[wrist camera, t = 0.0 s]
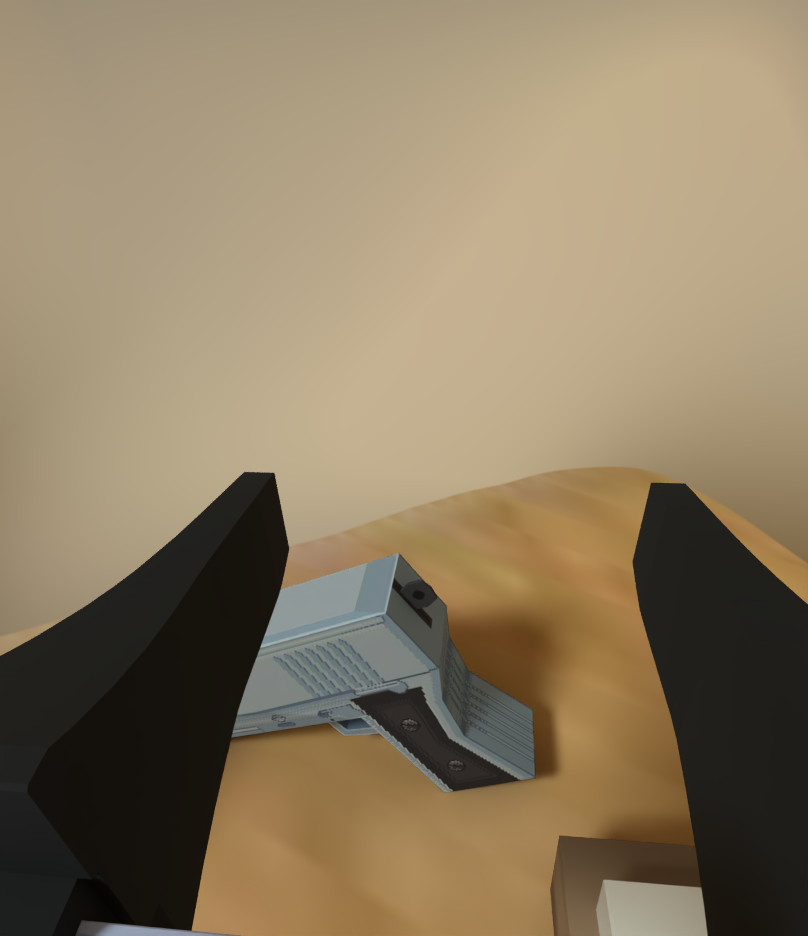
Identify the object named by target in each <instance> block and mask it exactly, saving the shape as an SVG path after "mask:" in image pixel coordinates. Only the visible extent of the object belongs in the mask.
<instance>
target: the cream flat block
mask: <svg viewBox="0 0 808 936" xmlns="http://www.w3.org/2000/svg"><path fill="white" fill-rule="evenodd" d="M596 912H597V920H598V927H599V934H600V936H708V935H707V927H706V918H705V910H704V903H703V896H702V889H701V888H699V887H687V886H675V885H663V884H651V883H639V882H627V881H615V880H603V884H602V888H601V892H600V896H599V900H598V904H597V908H596Z"/></svg>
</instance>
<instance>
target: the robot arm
mask: <svg viewBox="0 0 808 936" xmlns="http://www.w3.org/2000/svg"><path fill="white" fill-rule="evenodd" d="M288 552H289V545H288V540H287V536H286V530H285V526H284V520H283V515H282V510H281V504H280V499H279V495H278V489H277V484H276V479H275V474H274V473H259V472H257V473H255V472H244V473H243V474H242V475H241V476H240V477H239V478H237V479H236V480H235V482H233V483H232V484H231V485H230V486H229V487H228V488H227V489H226V490H225V491H224V492H223V493H222V494H221V495H220V496H219V497H218V498H216V500H214V501H213V502H212V503H211V504H210V505H209V506H208V507H207V508H206V509H205V510H204V511H203V512H202V513H201V514H200V515H199V516H198V517H197V518H195V519H194V520H193V521H192V522H191V523H190V524H189V525H188V526H187V527H186V528H185V529H184V530H182V531H181V532H180V533H179V534H178V535H177V536H176V537H175V538H174V539H172V540H171V541H170V542H169V543H168V544H166V545H165V546H164V547H163V548H162V549H160V550H159V551H158V552H157V553H156V554H155V555H153V556H152V557H151V558H150V559H149V560H148V561H146V562H145V563H144V564H143V565H141V566H140V567H139V568H138V569H137V570H135V571H134V572H133V573H131V574H130V575H129V576H127V577H126V578H125V579H123V580H122V581H121V582H120V583H118V584H117V585H115V586H114V587H113V588H111V589H110V590H108V591H107V592H105V593H104V594H103V595H101V596H100V597H98V598H97V599H95V600H94V601H93V602H91V603H90V604H88V605H87V606H85V607H84V608H83V609H80V610H79V611H77V612H75V613H74V614H72V615H71V616H69V617H67V618H66V619H64V620H62V621H61V622H59V623H57V624H56V625H54V626H53V627H51V628H49V629H48V630H46V631H44V632H43V633H41V634H40V635H38V636H36V637H34V638H33V639H31V640H29V641H27V642H25V643H24V644H22V645H20V646H18V647H16V648H14V649H13V650H11V651H9V652H7V653H5V654H3V655H1V656H0V936H239V935H229V934H218V933H208V932H198V931H192V925H193V919H194V914H195V908H196V903H197V897H198V892H199V886H200V881H201V875H202V869H203V864H204V859H205V854H206V850H207V845H208V840H209V835H210V830H211V825H212V820H213V815H214V810H215V806H216V801H217V797H218V793H219V788H220V784H221V779H222V775H223V771H224V766H225V762H226V758H227V754H228V750H229V746H230V742H231V738H232V734H233V730H234V726H235V722H236V717H237V714H238V710H239V707H240V704H241V701H242V697H243V694H244V691H245V688H246V685H247V683H248V680H249V677H250V674H251V672H252V669H253V666H254V663H255V661H256V658H257V655H258V652H259V650H260V647H261V644H262V642H263V639H264V636H265V633H266V631H267V628H268V625H269V622H270V619H271V617H272V614H273V611H274V608H275V605H276V602H277V600H278V597H279V594H280V589H281V585H282V581H283V576H284V572H285V567H286V562H287V557H288ZM633 568H634V575H635V582H636V589H637V595H638V601H639V608H640V612H641V616H642V619H643V623H644V626H645V630H646V633H647V637H648V640H649V644H650V647H651V650H652V654H653V657H654V660H655V664H656V667H657V671H658V674H659V677H660V681H661V684H662V687H663V691H664V694H665V698H666V701H667V704H668V708H669V711H670V714H671V718H672V722H673V726H674V730H675V734H676V738H677V743H678V749H679V754H680V760H681V765H682V771H683V776H684V781H685V787H686V792H687V799H688V805H689V811H690V817H691V823H692V829H693V835H694V841H695V847H696V854H697V861H698V868H699V875H700V882H701V889H702V896H703V903H704V910H705V918H706V927H707V935H708V936H808V604H807V603H806V602H804V601H803V600H802V599H801V598H800V597H799V596H798V595H796V594H795V593H794V592H793V591H792V590H791V589H790V588H789V587H787V586H786V585H785V584H784V583H783V582H782V581H781V580H779V579H778V578H777V577H776V576H775V575H774V574H773V573H772V572H771V571H770V570H769V569H768V568H767V567H766V566H764V565H763V564H762V563H761V562H760V561H759V560H758V559H757V558H756V557H755V556H754V555H753V554H752V553H751V552H750V551H749V550H748V549H747V548H746V547H745V546H744V545H743V544H742V543H741V542H740V541H739V540H738V539H737V538H736V537H735V536H734V535H733V534H732V533H731V532H730V531H729V530H728V529H727V527H726V526H725V525H724V524H723V523H722V522H721V521H720V520H719V519H718V518H717V517H716V516H715V515H714V514H713V513H712V512H711V511H710V509H709V508H708V507H707V506H706V505H705V504H704V503H703V502H702V501H701V500H700V499H699V498H698V497H697V495H696V494H695V493H694V492H693V491H692V490H691V489H690V488H689V487H688V486H687V485H686V484H680V483H651V486H650V490H649V494H648V498H647V503H646V507H645V511H644V515H643V520H642V524H641V528H640V532H639V537H638V541H637V545H636V549H635V554H634V558H633Z"/></svg>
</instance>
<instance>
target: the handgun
mask: <svg viewBox="0 0 808 936" xmlns="http://www.w3.org/2000/svg"><path fill="white" fill-rule="evenodd" d="M323 723H329V724H330V725H331V726H333V727H334V728H335V729H336V730H338V731H339V732H340V733H341V734H343V735H344V736H352V735H365V734H378V733H379V734H380V735H382V736H383V737H384V738H385V739H386V740H387V741H388V742H390V743H391V744H392V745H393V746H394V747H395V748H396V749H398V750H399V751H400V752H401V753H402V754H403V755H404V756H405V757H406V758H407V759H409V760H410V761H411V762H412V763H413V764H414V765H415V766H416V767H417V768H418V769H419V770H421V771H422V772H423V773H424V774H425V775H426V776H427V777H428V778H429V779H430V780H431V781H433V782H434V783H435V784H436V785H437V786H438V787H439V788H440V789H441V790H442V791H444V792H451V791H458V790H464V789H470V788H476V787H482V786H488V785H494V784H500V783H506V782H512V781H518V780H524V779H530V778H535V758H534V731H533V710H532V709H531V708H529V707H528V706H526V705H524V704H523V703H521V702H519V701H518V700H516V699H514V698H513V697H511V696H510V695H508V694H506V693H505V692H503V691H501V690H500V689H498V688H497V687H495V686H493V685H492V684H490V683H488V682H487V681H485V680H484V679H482V678H480V677H479V676H477V675H475V674H474V673H472V672H470V671H469V670H468V669H467V667H466V665H465V663H464V661H463V660H462V658H461V656H460V654H459V652H458V651H457V649H456V647H455V645H454V644H453V642H452V640H451V638H450V636H449V629H448V618H447V607H446V605H445V604H444V602H443V601H442V600H441V599H440V598H439V597H438V596H437V595H436V594H435V592H434V590H433V589H432V587H431V586H430V585H428V584H427V583H426V582H425V581H424V580H423V579H422V578H421V577H420V576H419V575H418V574H417V572H416V571H415V570H414V569H413V568H412V567H411V566H410V565H409V564H408V563H407V561H406V560H405V559H404V558H403V557H402V556H401V555H400V554H399V553H398V554H395V555H392V556H388V557H385V558H382V559H378V560H375V561H372V562H369V563H365V564H362V565H359V566H356V567H352V568H349V569H346V570H343V571H339V572H336V573H333V574H330V575H326V576H323V577H320V578H317V579H313V580H310V581H307V582H304V583H300V584H297V585H294V586H291V587H287V588H284V589H281V590H280V594H279V597H278V600H277V602H276V605H275V608H274V611H273V614H272V617H271V619H270V622H269V625H268V628H267V631H266V633H265V636H264V639H263V642H262V644H261V647H260V650H259V652H258V655H257V658H256V661H255V663H254V666H253V669H252V672H251V674H250V677H249V680H248V683H247V685H246V688H245V691H244V694H243V697H242V701H241V704H240V707H239V710H238V714H237V717H236V722H235V726H234V730H233V734H232V737H238V736H244V735H251V734H257V733H264V732H270V731H277V730H283V729H290V728H296V727H303V726H310V725H316V724H323Z"/></svg>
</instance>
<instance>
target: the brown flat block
mask: <svg viewBox="0 0 808 936" xmlns="http://www.w3.org/2000/svg"><path fill="white" fill-rule="evenodd" d="M603 880H615V881H627V882H639V883H651V884H663V885H675V886H687V887H699V888H701V882H700V875H699V868H698V861H697V854H696V847H695V846H687V845H674V844H661V843H648V842H635V841H622V840H609V839H596V838H584V837H571V836H559V841H558V847H557V853H556V859H555V865H554V871H553V877H552V883H551V889H550V891H551V902H552V914H553V926H554V936H600V934H599V927H598V920H597V912H596V908H597V904H598V900H599V896H600V892H601V888H602V884H603Z"/></svg>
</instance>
